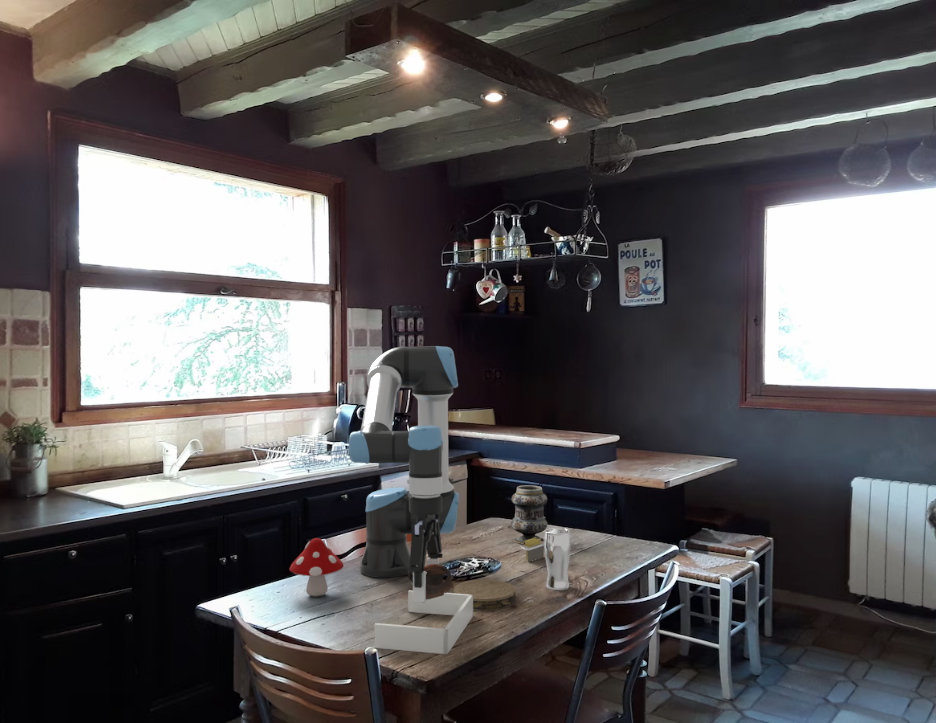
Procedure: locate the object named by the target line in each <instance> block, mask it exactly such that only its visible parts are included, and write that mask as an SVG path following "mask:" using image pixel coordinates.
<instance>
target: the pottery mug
mask: <svg viewBox="0 0 936 723" xmlns="http://www.w3.org/2000/svg"><path fill="white" fill-rule="evenodd" d="M424 571H426V599H432V598H436V597H439V596H443V595H444V593H450V592H449V591H450V590H451V589H453V588H454V587H455V585H454V583H453V581H452V580H454V576H453V575H452V574H451V571H450V569H448V568H447V567H446V566H443V565H442V564H440V563H439V564H430V565H427V564H425V567H424ZM445 575H446V579H445V580H444V577H445ZM407 577H408V580H409V581H410V582H411V584H412V585H413V572H409V571H408V574H407ZM423 603H425V602H423Z"/></svg>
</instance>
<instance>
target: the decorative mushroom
mask: <svg viewBox="0 0 936 723" xmlns="http://www.w3.org/2000/svg"><path fill="white" fill-rule="evenodd" d="M304 546H305V547H304V549H303V551H302V552H301V553H300V554H299V555H298V556H297V557H296V558H295V559H294V561H292V563H291V564H290V567H289V572H291V573H293V574H295V575H298V576H305V577H308V581H307V583H306V584H307V585H306V588H305V591H306V592H305V593H306V594H307V595H308V596H311V597H321V596H324V595H326V594H327V592H328V591H329V590H328V582H327V580H326V577H325V576H326V575H331V574H334V573H337V572H339V571H341V570H342V569H343V568H344V563H343V561H342V560H341V559H340V558H339V557H338V556H337V555H336V554H335V553H334V552H333V550H332V548H331V547H329V546H328V545H327V543H326V542H325V541H324V540H323V539H321V538H318V537H315V538H312V539H311V540H309V541H308V542H307V543H306V545H304Z"/></svg>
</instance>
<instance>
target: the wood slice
mask: <svg viewBox="0 0 936 723" xmlns="http://www.w3.org/2000/svg"><path fill="white" fill-rule="evenodd" d="M452 593H456V594H470V595H473V611H474V610H476V611H492V610H500V609H505V608H507V607H510V606H512V605H514V604H515V602H516V587H515V586H514V585H513V584H511V583H509V582H506V581H503V580H497V579H473V580H472V579H471V580H466V581H462V582H460V583H458V584H455V585H454V588H452Z"/></svg>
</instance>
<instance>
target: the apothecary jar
mask: <svg viewBox="0 0 936 723" xmlns="http://www.w3.org/2000/svg"><path fill="white" fill-rule="evenodd" d="M511 502H512V503H513V504H514V505H515V506H514V508H515V511H514V512H515V513H514V517H513V518H512V520H511V522H510V525H511V528H512V529H513V530H514V531H515V532H518V533H520V534H522V535H520V536H517V537H516V538H515V539H514V540H515V541H516V542H519V543H525V541H526V540H529V539H532V538H536V539H539V538H541V539H540V540H541V541H543V539H544V538H543V537H540V536H539V535H537V534H541V533H542V532H545V530H547V529H548V521H547V520H546V519H545V516H544V515H545V514H544V509H545V508H544V506H545V505H546V504H547V502H548V497H547V495H546V494H545V493H544V491H543V488H542V486H537V485H519V486H517V487H516V492H515V493H514V494H513V495H512V496H511ZM515 541H514V542H515ZM516 542H515V543H516ZM519 543H518V544H519Z"/></svg>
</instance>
